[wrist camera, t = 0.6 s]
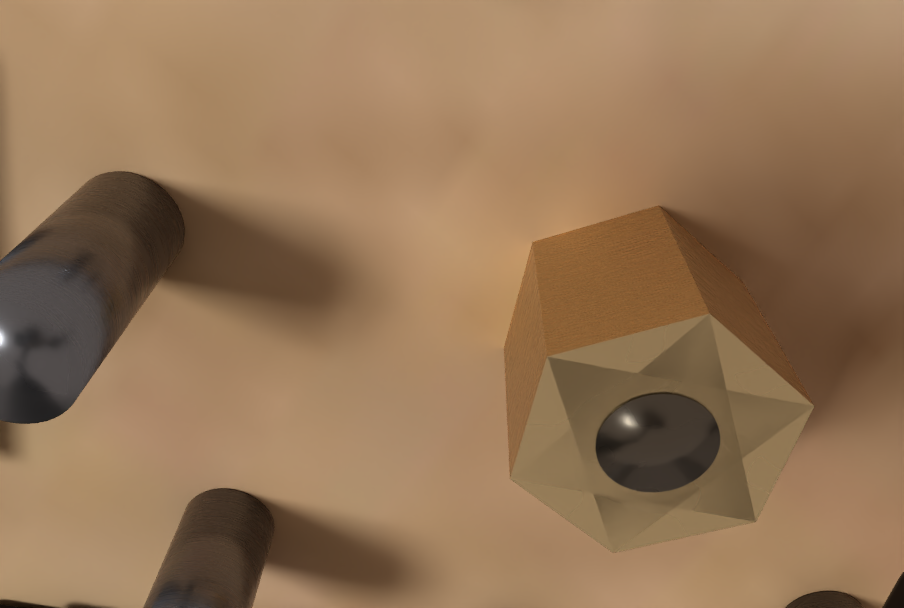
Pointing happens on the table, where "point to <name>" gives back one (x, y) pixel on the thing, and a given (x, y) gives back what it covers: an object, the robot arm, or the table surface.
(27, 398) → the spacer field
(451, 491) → the table surface
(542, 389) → the brass nut
